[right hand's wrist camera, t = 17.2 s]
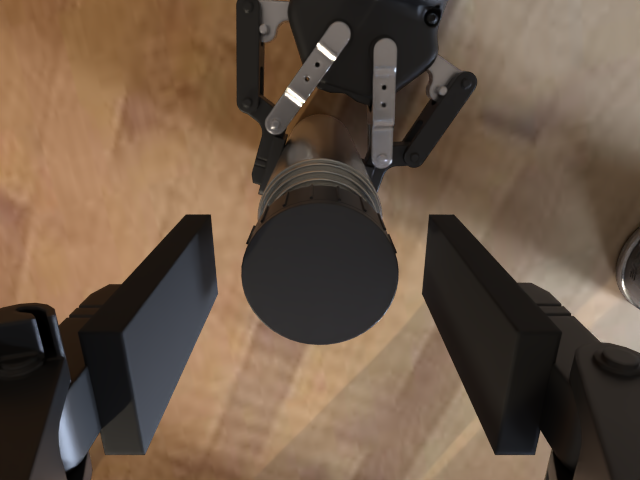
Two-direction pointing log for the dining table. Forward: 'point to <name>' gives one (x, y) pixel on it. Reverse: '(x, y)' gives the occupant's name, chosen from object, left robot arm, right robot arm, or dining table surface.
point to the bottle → (320, 162)
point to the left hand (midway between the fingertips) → (307, 204)
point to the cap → (319, 266)
